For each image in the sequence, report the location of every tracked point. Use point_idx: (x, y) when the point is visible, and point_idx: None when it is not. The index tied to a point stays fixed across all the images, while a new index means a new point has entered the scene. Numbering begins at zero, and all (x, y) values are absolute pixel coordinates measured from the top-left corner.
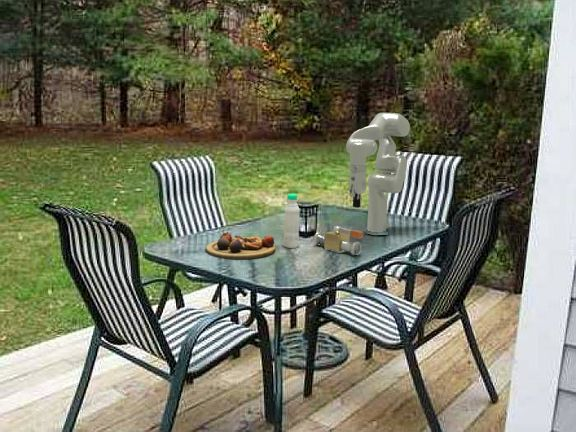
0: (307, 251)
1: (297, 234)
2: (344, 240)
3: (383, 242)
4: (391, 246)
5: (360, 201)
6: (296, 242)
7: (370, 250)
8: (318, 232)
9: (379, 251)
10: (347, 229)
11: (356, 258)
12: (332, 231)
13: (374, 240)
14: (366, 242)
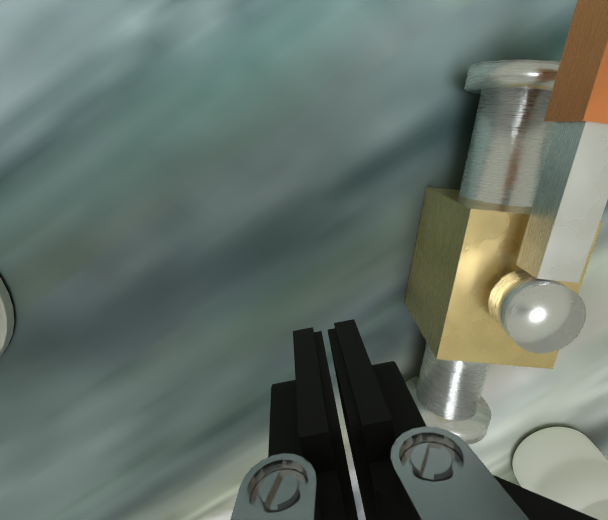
0: (586, 348)
1: (604, 485)
2: (515, 206)
3: (64, 140)
4: (103, 30)
5: (301, 390)
6: (579, 446)
7: (313, 85)
8: (468, 435)
9: (289, 17)
10: (581, 199)
11: (562, 37)
12: (479, 354)
13: (77, 216)
14: (162, 225)
